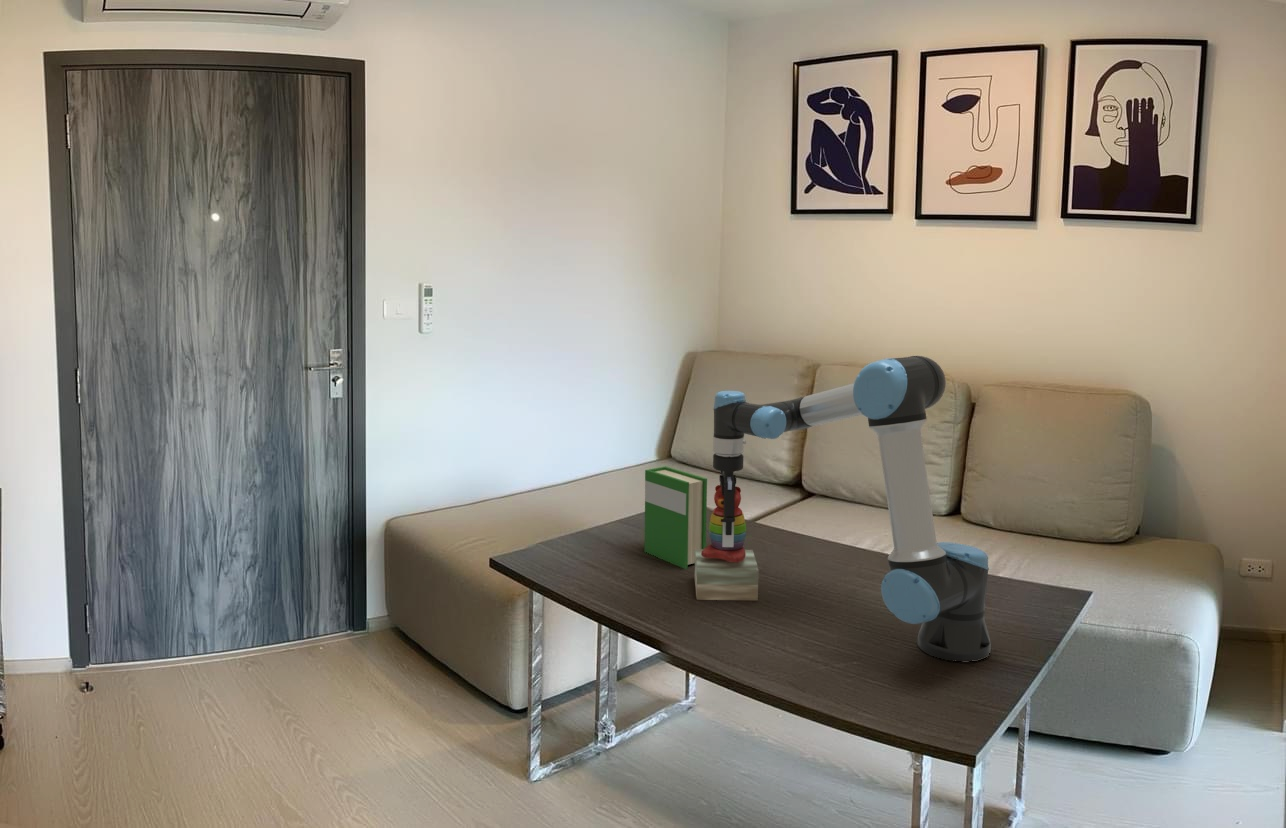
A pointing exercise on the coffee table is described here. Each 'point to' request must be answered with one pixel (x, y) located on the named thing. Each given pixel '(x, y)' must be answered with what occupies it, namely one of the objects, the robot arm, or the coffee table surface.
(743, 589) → the tower base
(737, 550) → the stacking bear
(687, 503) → the hardback book
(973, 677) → the coffee table surface
